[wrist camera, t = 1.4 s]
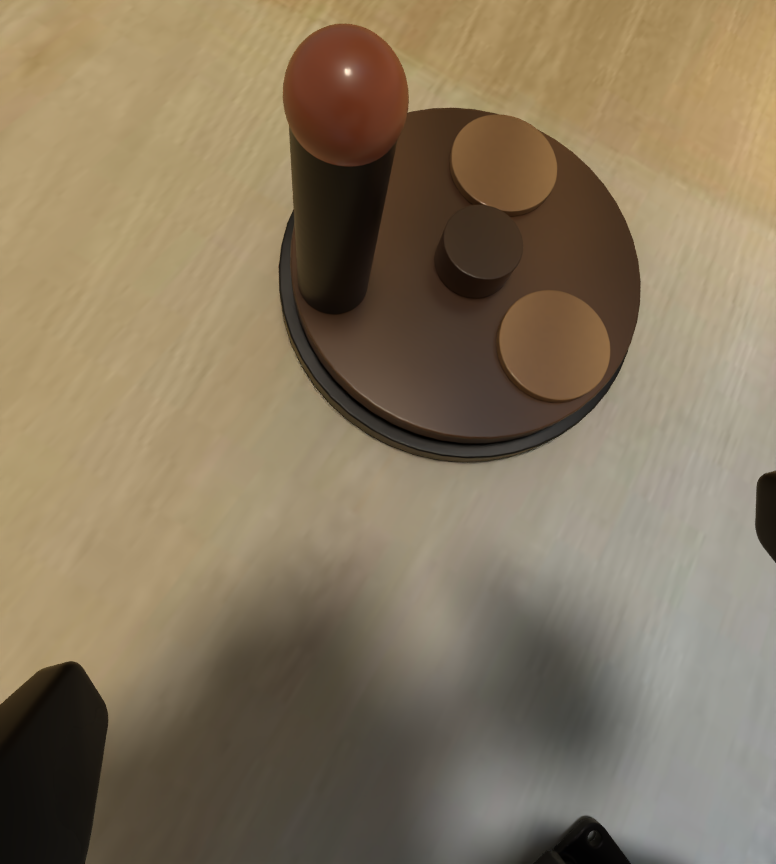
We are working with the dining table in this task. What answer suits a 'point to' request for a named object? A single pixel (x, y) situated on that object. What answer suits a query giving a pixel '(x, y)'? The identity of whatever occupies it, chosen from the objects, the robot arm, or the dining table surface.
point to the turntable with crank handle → (448, 252)
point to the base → (381, 426)
